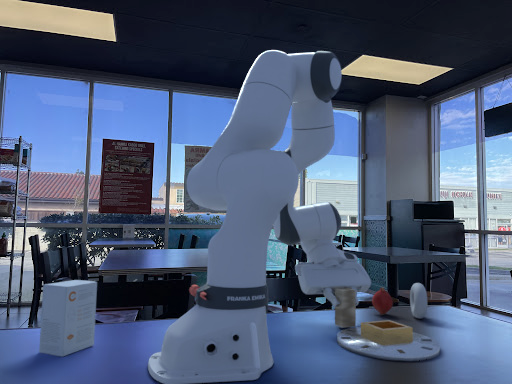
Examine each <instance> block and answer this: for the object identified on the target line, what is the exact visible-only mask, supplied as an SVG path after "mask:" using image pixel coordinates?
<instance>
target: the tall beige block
mask: <svg viewBox="0 0 512 384" xmlns="http://www.w3.org/2000/svg"><path fill="white" fill-rule="evenodd" d="M334 296H335V297H339V299H340V301H341V305H340V306H339V307H334V325H335V326H336V327H339V328H342V329H343V328H356V327H357V325H356V323H357V322H356V321H357V319H356V317H357V314H356V290H353V289H349V288H341V289H335V293H334Z"/></svg>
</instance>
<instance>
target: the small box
mask: <svg viewBox="0 0 512 384" xmlns="http://www.w3.org/2000/svg"><path fill="white" fill-rule="evenodd" d="M97 292H98V281H94V280H93V281H92V280H85V279H84V280H83V279H82V280H81V279H74V280H73V279H72V280H65V281H59V282H53V283H45V284H42V299H41V300H42V301H41V314H40V315H41V317H40V319H41V320H40V330H39V331H40V332H39V333H40V335H39V349H38V350H39V351H38V352H39V353H40V354H45V355H46V354H47V355H51V356H55V357H63V358H64V357H65V356H68V355H70V354H74V353H76V352H78V351H81V350H85V349H87V348H90V347H92V346H95V335H96V334H95V332H96V331H95V330H96V312H97V311H96V310H97V296H98V295H97Z"/></svg>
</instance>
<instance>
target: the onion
mask: <svg viewBox="0 0 512 384" xmlns="http://www.w3.org/2000/svg"><path fill="white" fill-rule="evenodd" d="M371 303H372V306H373V308H374V310H376V311H377V312H378V313H379V314H380V315H383V316H384V315H386V314H387V313H388V312H389V311H390V310H392V308H393V304H394V302H393V298H392V296H391V294H390V293H389V292H388V291H386V290H385V287H380V289H379V290H378V291H376V292H375V293H374V294H373V296H372V299H371Z"/></svg>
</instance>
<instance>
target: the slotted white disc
mask: <svg viewBox="0 0 512 384" xmlns="http://www.w3.org/2000/svg"><path fill="white" fill-rule="evenodd" d="M336 339H337V340H336V341H337V344H338V345H339V346H340V347H341V348H343V349H344V350H347V351H349V352H351V353H354V354H358V355H360V356H364V357H368V358H373V359H379V360H386V361H398V362H417V361H418V362H419V360H420V361H426V359H427V360H430V359H434V358H435V357H438V356H439V355H440V343H439V342H437V341H436V340H435V339H433V338H432V337H429V336H427V335H424V334H421V333H419V332H415V331H413V326H410V325H406V324H403V323H400V322H396V321H393V320H390V319H386V320H376V321H375V320H374V321H362V322H360V326H358V327H357V326H356V327H348V328H345V329H342V330H341V331H339V332H338V333H337V336H336Z"/></svg>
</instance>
